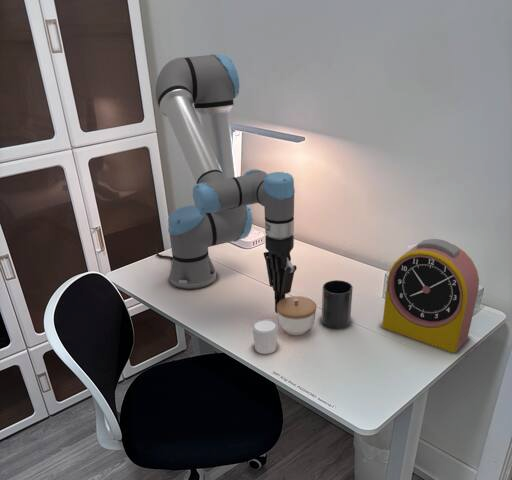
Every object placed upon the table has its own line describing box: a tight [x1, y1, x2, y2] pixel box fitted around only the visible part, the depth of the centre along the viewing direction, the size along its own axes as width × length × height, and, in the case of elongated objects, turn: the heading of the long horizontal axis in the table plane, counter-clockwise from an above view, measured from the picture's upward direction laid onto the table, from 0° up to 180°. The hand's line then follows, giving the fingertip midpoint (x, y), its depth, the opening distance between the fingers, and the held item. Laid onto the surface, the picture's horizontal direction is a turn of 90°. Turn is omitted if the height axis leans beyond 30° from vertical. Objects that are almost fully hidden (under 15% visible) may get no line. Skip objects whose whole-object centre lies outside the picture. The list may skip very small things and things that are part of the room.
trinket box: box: [276, 295, 317, 336], centre depth 144 cm, size 11×11×9 cm
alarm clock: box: [381, 238, 480, 353], centre depth 135 cm, size 21×9×26 cm, turn 50°
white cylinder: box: [251, 318, 279, 355], centre depth 137 cm, size 7×7×7 cm
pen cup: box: [321, 279, 354, 330], centre depth 146 cm, size 8×8×11 cm
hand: (280, 311), depth 151 cm, fingers closed
